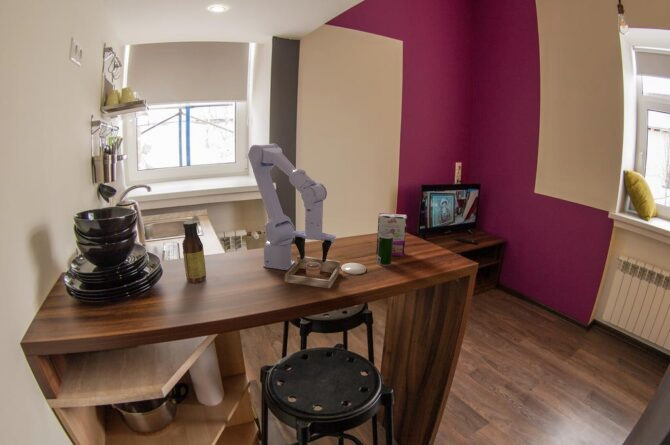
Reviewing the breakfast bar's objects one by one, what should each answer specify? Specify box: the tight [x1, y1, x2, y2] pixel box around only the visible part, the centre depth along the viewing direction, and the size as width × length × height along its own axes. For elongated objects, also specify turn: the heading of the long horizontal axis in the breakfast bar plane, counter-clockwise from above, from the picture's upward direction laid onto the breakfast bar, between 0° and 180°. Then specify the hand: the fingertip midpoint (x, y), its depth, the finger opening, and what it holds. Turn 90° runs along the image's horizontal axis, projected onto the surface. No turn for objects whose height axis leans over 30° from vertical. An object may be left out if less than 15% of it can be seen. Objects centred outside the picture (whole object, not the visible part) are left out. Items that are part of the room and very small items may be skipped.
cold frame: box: [284, 255, 341, 289], centre depth 126 cm, size 16×13×4 cm
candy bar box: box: [375, 212, 408, 257], centre depth 148 cm, size 11×5×16 cm, turn 81°
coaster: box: [340, 262, 367, 276], centre depth 134 cm, size 9×9×1 cm
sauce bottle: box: [181, 220, 207, 284], centre depth 119 cm, size 7×6×20 cm
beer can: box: [376, 232, 393, 267], centre depth 138 cm, size 5×5×12 cm
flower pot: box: [305, 262, 321, 279], centre depth 126 cm, size 5×5×5 cm
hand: (313, 259), depth 125 cm, fingers open, 7 cm apart
